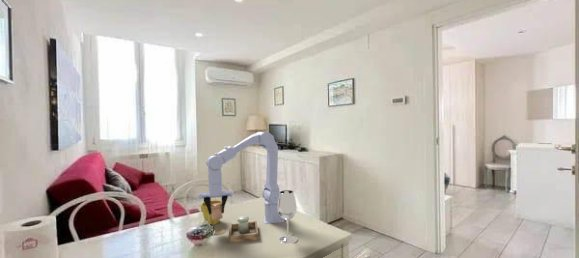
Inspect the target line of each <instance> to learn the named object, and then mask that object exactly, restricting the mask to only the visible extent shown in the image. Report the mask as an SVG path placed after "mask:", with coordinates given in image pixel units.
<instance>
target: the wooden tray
mask: <svg viewBox="0 0 579 258" xmlns="http://www.w3.org/2000/svg"><path fill="white" fill-rule="evenodd" d="M257 223H258V221H257V220H255V221H248V227H249V231H248V232H247V233H239V228H238V222H234V223H229V229H228V235H227V236H228V244H233V243H242V242H244V243H245V242H251V241H253V242H254V241H259V230H258V229H259V228H258V224H257Z"/></svg>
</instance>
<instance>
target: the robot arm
mask: <svg viewBox="0 0 579 258" xmlns="http://www.w3.org/2000/svg"><path fill="white" fill-rule="evenodd" d="M253 145H257V146H258V145H259V146H261V147H262V148H263V149H265V150H266V179H265V181H266V182H265V184H264V185H263V186H264V187H263V190H262V193H261V194H262V198H263V199H264V217H263V221H264V224H265V225H267V224H276V223H284V222H285V221H286V220H285V219H283V218H281V217H280V215H279V214H278V200H279V194H280V191H281V190H280V186H279V185H278V163H279V162H278V161H279V158H278V154H279V147H278V144H277V142H276V141H275V136H274V135H273V134H271V133H270V132H269V131H257V132H255V133H252V134H251V135H248V136H247V137H246V138H245V139H243V140H241V141H240V142H239V143H237V144H235V145H234V146H231V145H229V146H226V145H225V146H224V147H223V149H222V150H220V151H219V152H215V153H214V155H211V156H209V157H208V158H207V159H206V162H205V163H206V166H207V167H208V168H207V171H208V174H207V178H208V179H207V181H208V191H207V192H202V193H198V199H199V200H201V199H203V202H204V203H205V204H206V206H207V208H208V211H209V215H210V214H211V208H210V205H211V201H212V199H211V198H220V197H221V201H222V214H224V213H225V208H226V207H225V206H226V203H227V200H228V198H229V197H233V195H234V194H233V190H223V179H222V178H223V177H222V175H223V174H222V167H223V166H224V165H225V164H226V163H229V162H230V161H231V160H233V159H235V158H236V157H237V155H238V153H240V152H241V151H243V150H245V149H247V148H249V147H250V146H253ZM285 223H286V222H285Z"/></svg>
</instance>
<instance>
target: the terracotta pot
mask: <svg viewBox="0 0 579 258" xmlns="http://www.w3.org/2000/svg"><path fill="white" fill-rule="evenodd" d="M221 206H222V203H215V204H212V205H210V208H211V210H212V219H213V220H218V219H220V220H221V219H223V213H222V207H221Z"/></svg>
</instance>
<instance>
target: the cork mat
mask: <svg viewBox="0 0 579 258" xmlns="http://www.w3.org/2000/svg"><path fill="white" fill-rule="evenodd" d="M214 230H215V233H214V235H213V236H221V235H223V234H225V233H226V229H225V228H215V229H214Z"/></svg>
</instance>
